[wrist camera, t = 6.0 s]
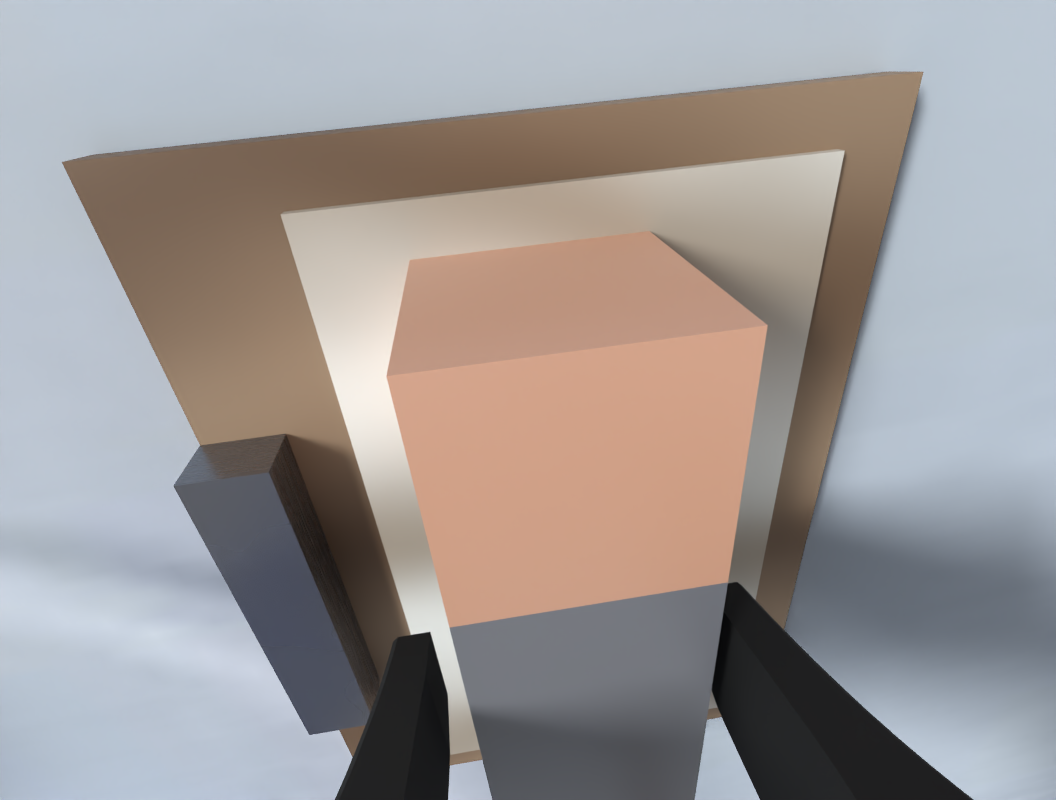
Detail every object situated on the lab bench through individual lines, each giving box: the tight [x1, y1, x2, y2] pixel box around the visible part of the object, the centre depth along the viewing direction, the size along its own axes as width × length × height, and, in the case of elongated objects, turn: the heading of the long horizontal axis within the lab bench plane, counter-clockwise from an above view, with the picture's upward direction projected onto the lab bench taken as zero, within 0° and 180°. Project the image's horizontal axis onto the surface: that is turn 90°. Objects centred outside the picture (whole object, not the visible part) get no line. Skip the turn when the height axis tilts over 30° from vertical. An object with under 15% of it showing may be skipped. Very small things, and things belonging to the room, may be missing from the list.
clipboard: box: [62, 72, 923, 765], centre depth 13 cm, size 18×13×2 cm
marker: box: [386, 231, 768, 800], centre depth 11 cm, size 15×4×4 cm, turn 5°
